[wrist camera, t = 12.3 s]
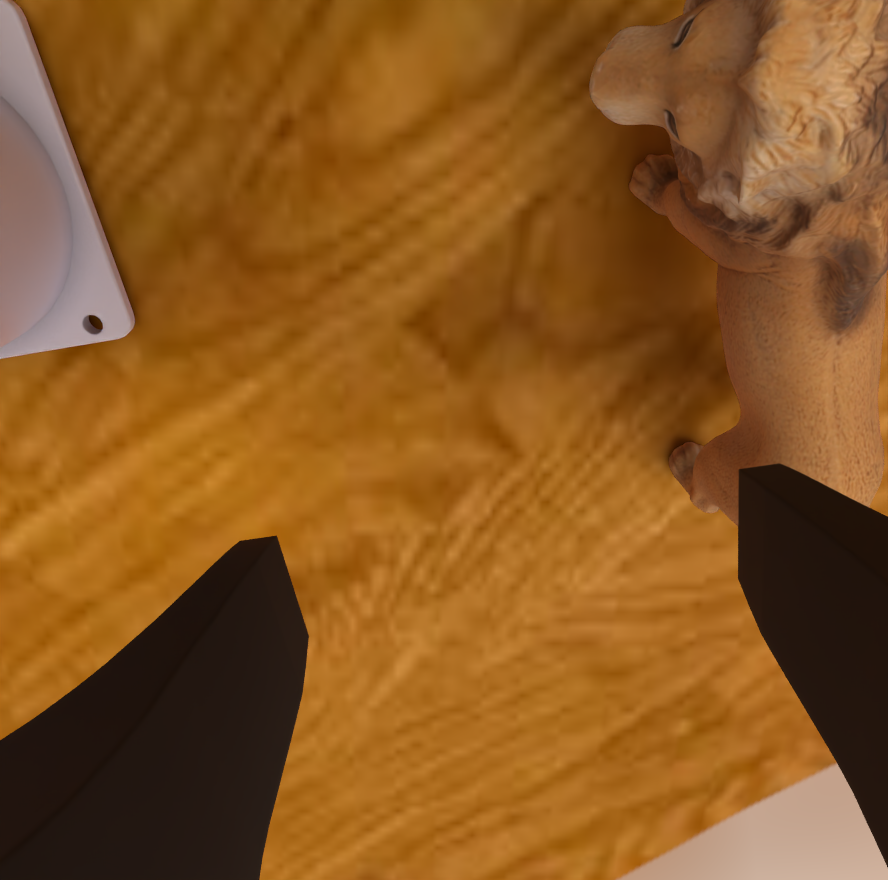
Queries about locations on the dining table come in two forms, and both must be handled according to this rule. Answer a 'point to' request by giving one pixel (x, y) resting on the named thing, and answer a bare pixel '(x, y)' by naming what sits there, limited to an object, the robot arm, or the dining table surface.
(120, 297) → the robot arm
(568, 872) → the dining table surface
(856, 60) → the lion figurine
